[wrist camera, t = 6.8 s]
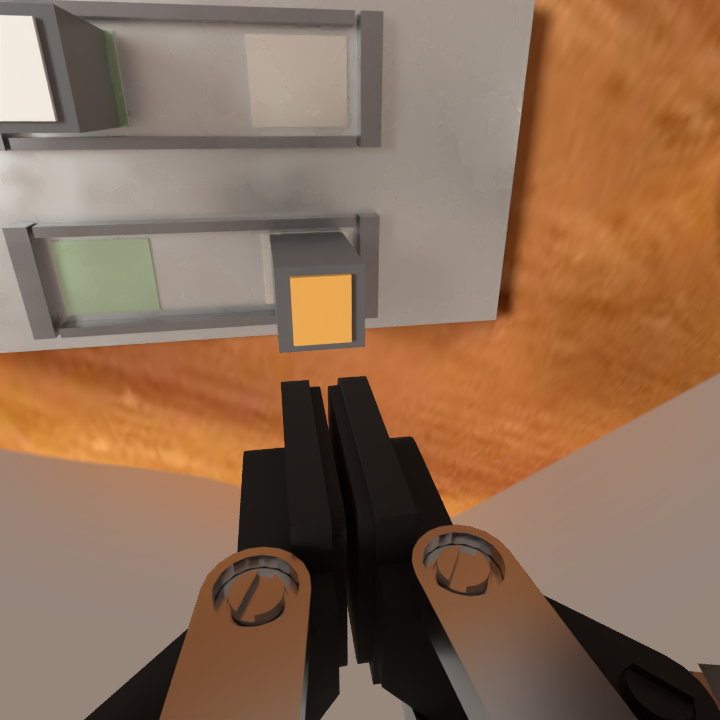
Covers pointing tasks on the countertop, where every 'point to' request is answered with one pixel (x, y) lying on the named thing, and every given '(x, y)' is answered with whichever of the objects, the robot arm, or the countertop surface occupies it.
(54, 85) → the handle
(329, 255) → the handle
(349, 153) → the panel
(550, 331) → the countertop surface
